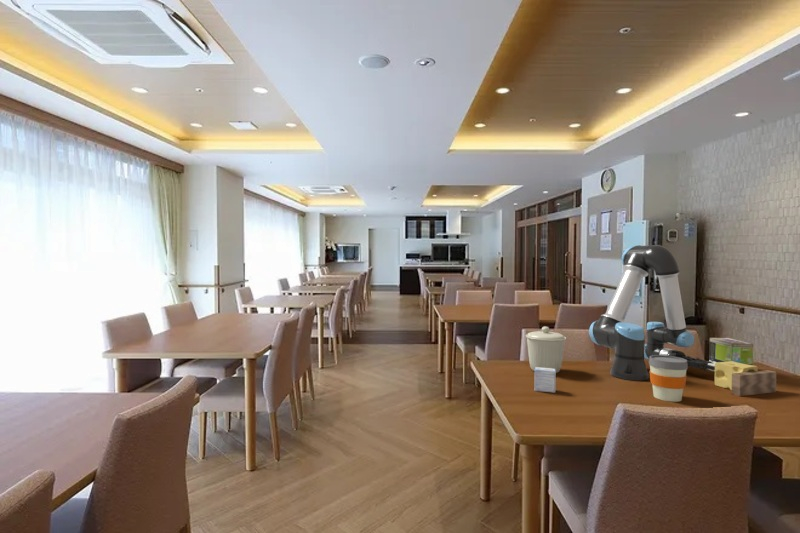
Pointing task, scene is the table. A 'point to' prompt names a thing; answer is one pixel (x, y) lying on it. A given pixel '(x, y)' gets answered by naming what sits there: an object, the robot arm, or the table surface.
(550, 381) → the medicine box
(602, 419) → the table surface
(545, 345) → the canister
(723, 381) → the cheese
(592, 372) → the table surface
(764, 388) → the walnut board
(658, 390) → the reusable coffee cup
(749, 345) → the tea box
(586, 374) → the table surface
